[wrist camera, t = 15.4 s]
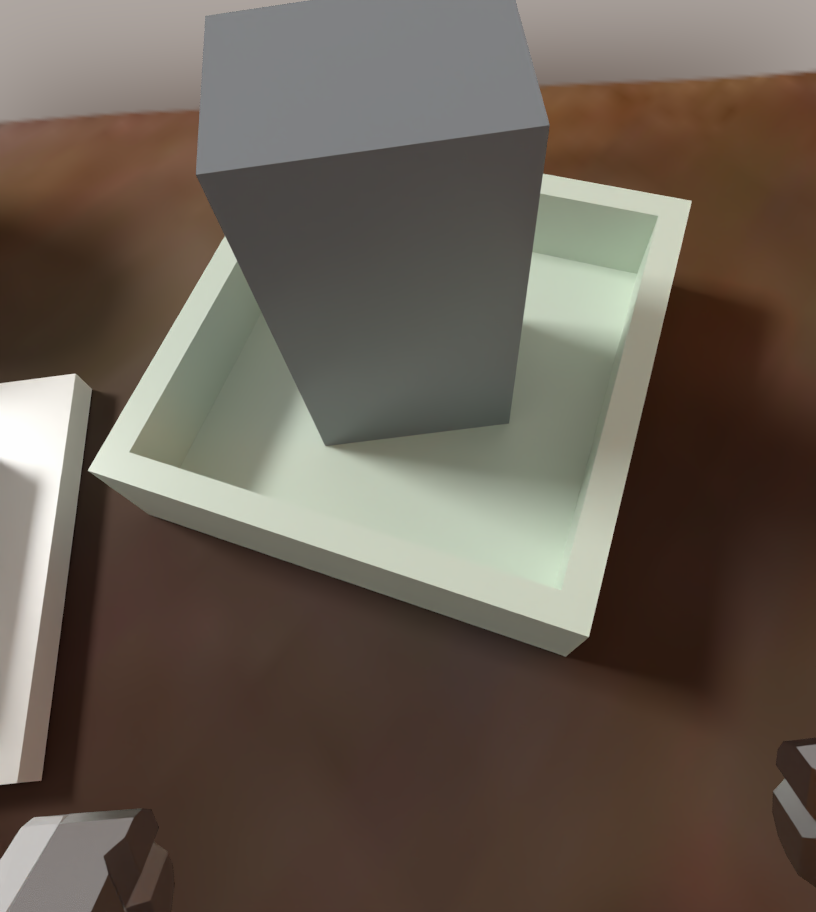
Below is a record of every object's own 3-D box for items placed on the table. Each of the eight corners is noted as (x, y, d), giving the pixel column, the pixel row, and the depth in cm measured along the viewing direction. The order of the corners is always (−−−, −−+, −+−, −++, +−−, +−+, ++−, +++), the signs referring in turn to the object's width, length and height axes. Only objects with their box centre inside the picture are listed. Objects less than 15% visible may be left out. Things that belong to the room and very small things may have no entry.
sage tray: (149, 514, 20) (87, 470, 16) (311, 207, 24) (288, 127, 21) (565, 656, 17) (589, 637, 14) (658, 280, 22) (691, 200, 18)
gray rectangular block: (325, 446, 19) (195, 174, 10) (320, 330, 21) (205, 9, 12) (509, 423, 19) (549, 124, 10) (487, 308, 21) (505, -36, 11)
